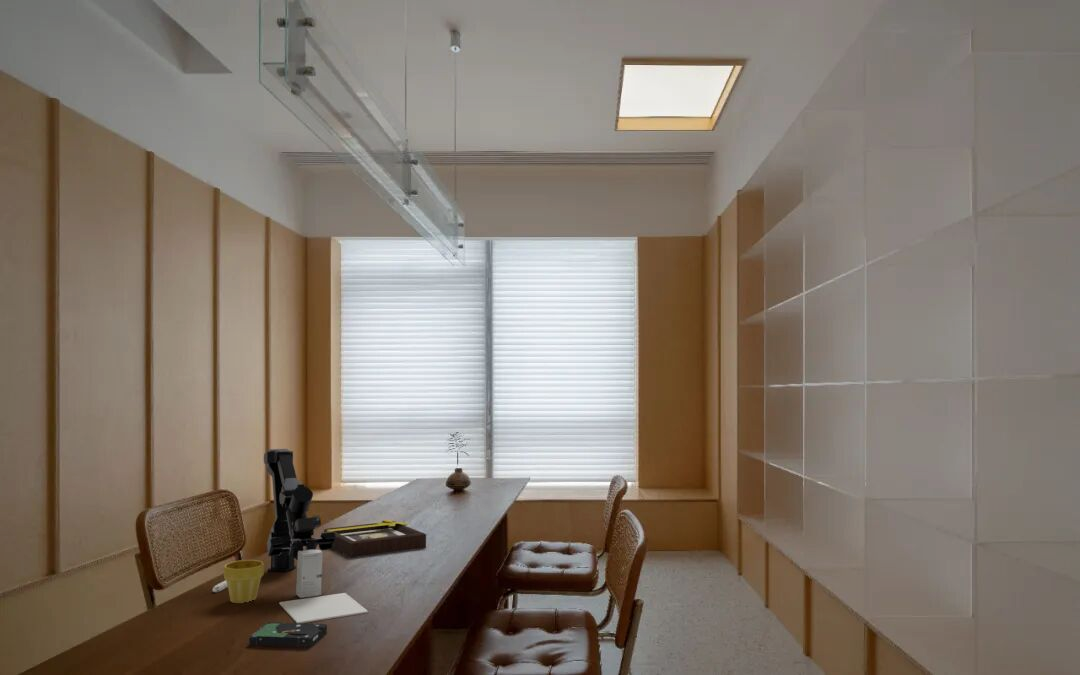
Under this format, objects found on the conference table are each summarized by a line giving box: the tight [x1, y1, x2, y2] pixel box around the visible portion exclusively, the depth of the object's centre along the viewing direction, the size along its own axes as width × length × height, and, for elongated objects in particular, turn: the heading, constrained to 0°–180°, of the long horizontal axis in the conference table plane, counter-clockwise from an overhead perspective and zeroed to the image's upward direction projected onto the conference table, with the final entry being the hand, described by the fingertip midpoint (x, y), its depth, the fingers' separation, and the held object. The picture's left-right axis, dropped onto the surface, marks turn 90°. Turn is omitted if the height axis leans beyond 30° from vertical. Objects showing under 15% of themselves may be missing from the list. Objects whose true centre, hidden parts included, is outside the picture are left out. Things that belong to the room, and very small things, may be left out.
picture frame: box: [323, 519, 427, 558], centre depth 283 cm, size 28×7×30 cm
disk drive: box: [248, 621, 328, 649], centre depth 181 cm, size 10×3×15 cm
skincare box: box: [295, 548, 324, 599], centre depth 218 cm, size 6×4×12 cm
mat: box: [279, 592, 369, 624], centre depth 205 cm, size 20×18×1 cm
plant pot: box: [223, 559, 265, 604], centre depth 213 cm, size 10×10×10 cm
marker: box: [212, 579, 228, 593], centre depth 228 cm, size 18×2×2 cm, turn 174°
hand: (307, 568), depth 220 cm, fingers closed
